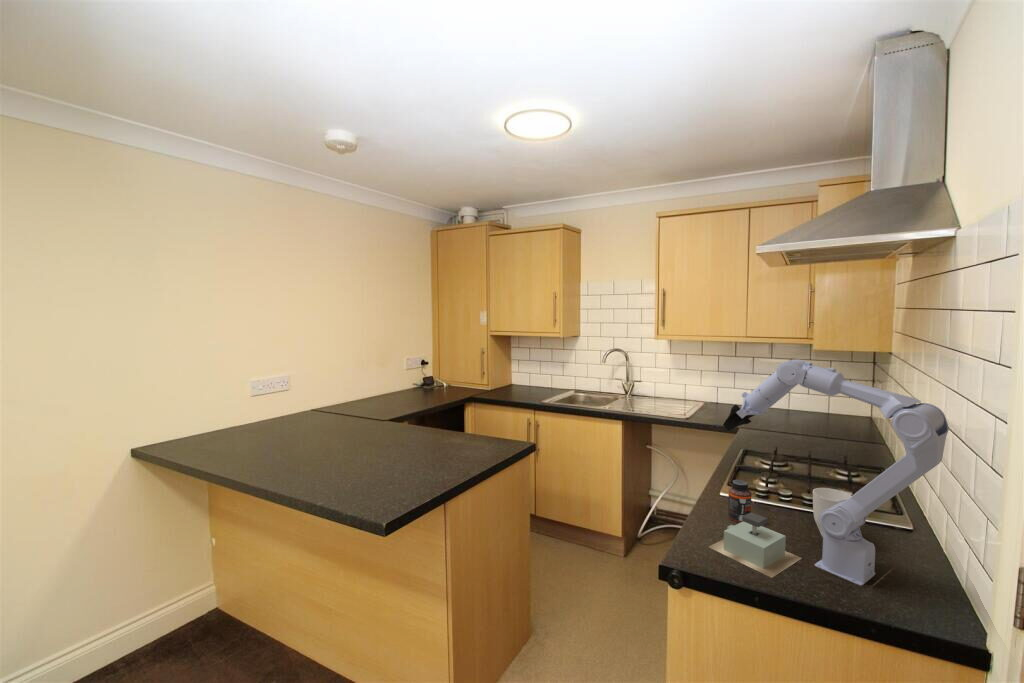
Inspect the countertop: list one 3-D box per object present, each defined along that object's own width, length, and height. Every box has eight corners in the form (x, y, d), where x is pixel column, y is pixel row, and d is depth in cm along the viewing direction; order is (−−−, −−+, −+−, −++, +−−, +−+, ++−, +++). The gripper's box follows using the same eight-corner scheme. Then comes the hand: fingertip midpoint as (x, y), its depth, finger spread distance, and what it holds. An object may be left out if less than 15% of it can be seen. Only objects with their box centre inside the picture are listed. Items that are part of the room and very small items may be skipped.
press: (785, 555, 111) (785, 535, 111) (763, 568, 106) (763, 548, 106) (739, 535, 121) (740, 517, 121) (717, 546, 116) (718, 528, 115)
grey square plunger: (766, 540, 112) (767, 518, 111) (757, 545, 110) (758, 522, 109) (750, 533, 115) (751, 512, 115) (741, 538, 113) (742, 516, 113)
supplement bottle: (748, 527, 126) (749, 488, 125) (725, 521, 130) (726, 483, 129) (752, 518, 131) (753, 481, 130) (730, 513, 135) (731, 476, 134)
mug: (849, 550, 114) (849, 503, 113) (808, 538, 120) (808, 494, 119) (859, 533, 121) (859, 490, 121) (820, 523, 128) (820, 482, 127)
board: (802, 559, 110) (802, 558, 110) (771, 579, 102) (771, 577, 102) (738, 532, 123) (738, 531, 123) (708, 548, 116) (708, 546, 116)
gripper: (766, 376, 124) (732, 405, 132) (743, 389, 114) (709, 419, 123) (787, 395, 120) (751, 424, 129) (765, 410, 111) (728, 440, 120)
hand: (732, 423), depth 126 cm, fingers open, 7 cm apart
